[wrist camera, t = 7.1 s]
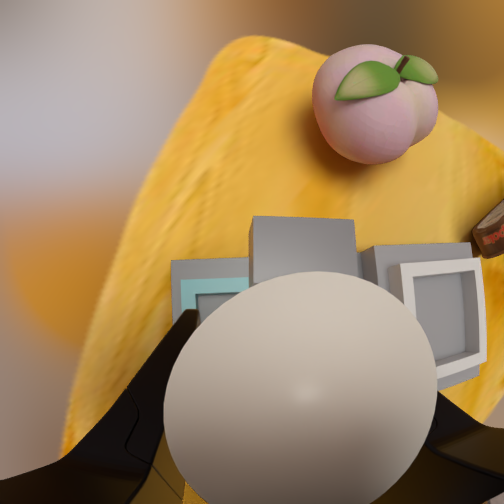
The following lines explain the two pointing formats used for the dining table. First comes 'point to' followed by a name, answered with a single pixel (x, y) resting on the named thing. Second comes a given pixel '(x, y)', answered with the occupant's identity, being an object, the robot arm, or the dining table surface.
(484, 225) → the tin
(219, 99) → the dining table surface
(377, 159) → the decorative fruit
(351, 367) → the white rounded cylinder
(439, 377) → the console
